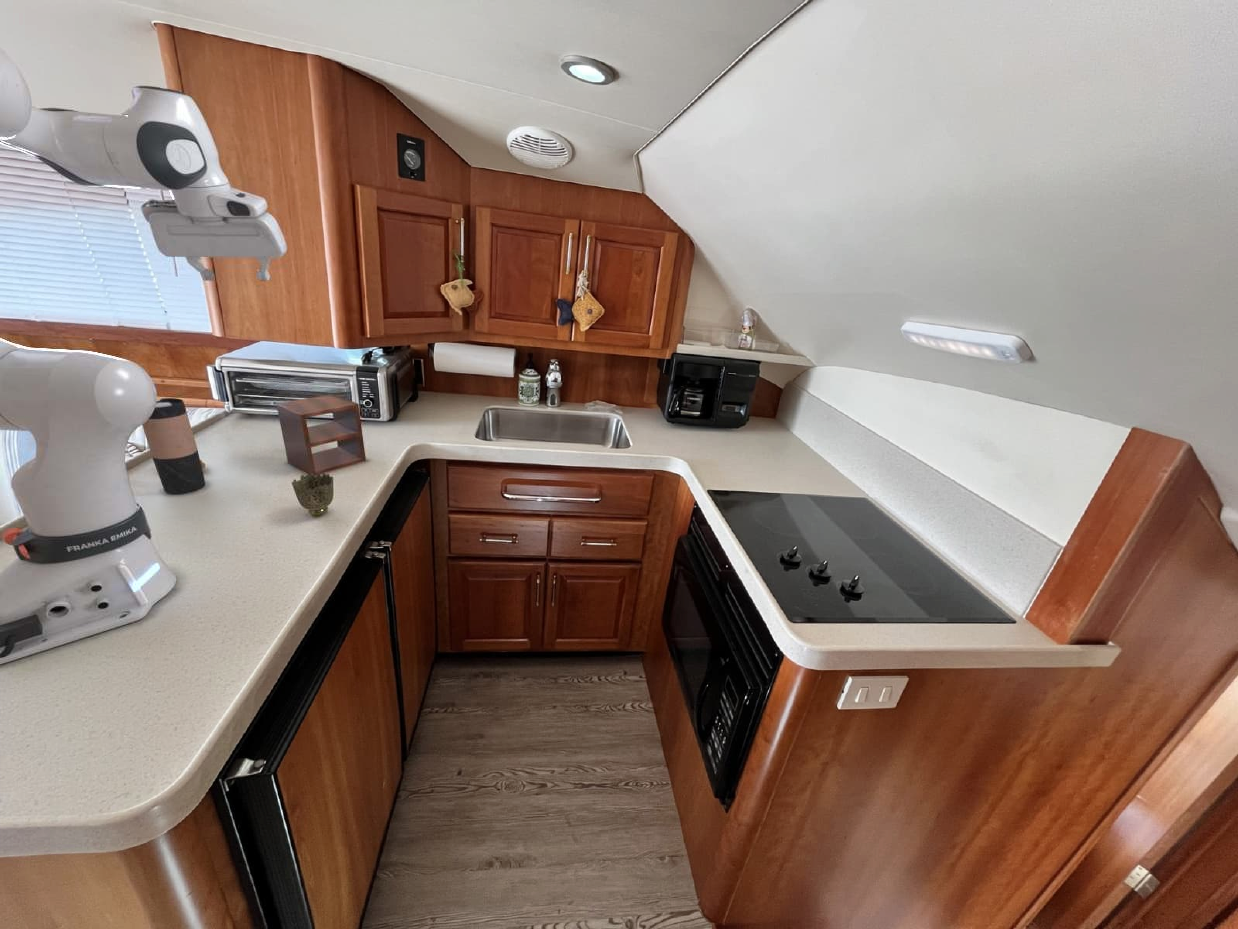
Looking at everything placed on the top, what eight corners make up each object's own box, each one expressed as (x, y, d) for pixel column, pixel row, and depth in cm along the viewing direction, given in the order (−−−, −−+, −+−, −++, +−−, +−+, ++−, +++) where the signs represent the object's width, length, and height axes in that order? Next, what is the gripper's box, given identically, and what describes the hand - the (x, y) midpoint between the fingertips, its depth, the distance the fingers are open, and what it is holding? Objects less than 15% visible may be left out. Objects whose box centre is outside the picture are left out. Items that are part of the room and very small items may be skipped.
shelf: (311, 476, 121) (300, 414, 115) (287, 463, 127) (276, 403, 121) (366, 460, 132) (358, 403, 126) (341, 449, 138) (333, 394, 132)
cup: (320, 524, 102) (314, 489, 99) (289, 518, 103) (282, 483, 100) (346, 508, 108) (341, 475, 105) (317, 502, 110) (311, 470, 106)
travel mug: (195, 494, 108) (170, 408, 101) (154, 495, 107) (126, 407, 99) (214, 480, 115) (191, 398, 108) (175, 480, 114) (150, 397, 106)
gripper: (126, 202, 82) (167, 285, 91) (264, 207, 87) (291, 285, 96) (145, 194, 87) (182, 274, 96) (275, 199, 92) (299, 274, 100)
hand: (237, 279), depth 96 cm, fingers open, 8 cm apart
